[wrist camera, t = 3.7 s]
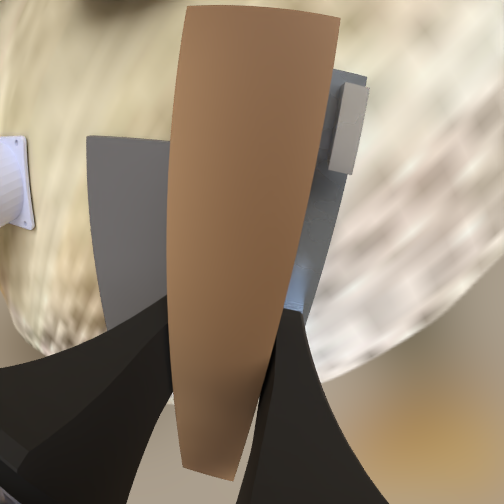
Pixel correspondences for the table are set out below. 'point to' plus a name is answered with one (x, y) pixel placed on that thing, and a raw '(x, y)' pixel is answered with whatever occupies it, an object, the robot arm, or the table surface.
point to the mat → (128, 222)
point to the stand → (328, 185)
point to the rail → (237, 208)
